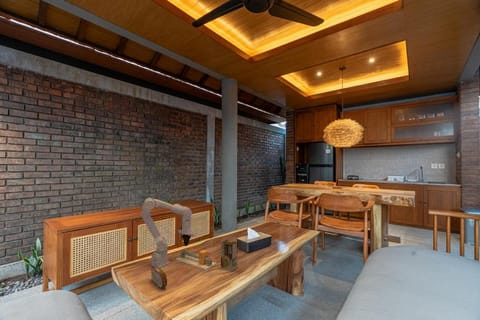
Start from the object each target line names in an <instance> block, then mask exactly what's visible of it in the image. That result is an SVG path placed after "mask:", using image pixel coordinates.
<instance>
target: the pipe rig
mask: <svg viewBox="0 0 480 320" xmlns="http://www.w3.org/2000/svg"><path fill="white" fill-rule="evenodd" d="M175 261H176V262H180V263H183V264H187V265H188V266H192V267H195V268H197V269H200V270H203V271H208V270H210V269H212V268H213V267H215V266H217V262H214V261H213V259H211V258H210V257H209V256H208V257H204V261H207V262H206V263H205V264H201V263H199V254H197V253H194V252H190V251H187V250H184V249H183V250H182V251H181V252H180V256H179V257H177V258H175Z"/></svg>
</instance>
